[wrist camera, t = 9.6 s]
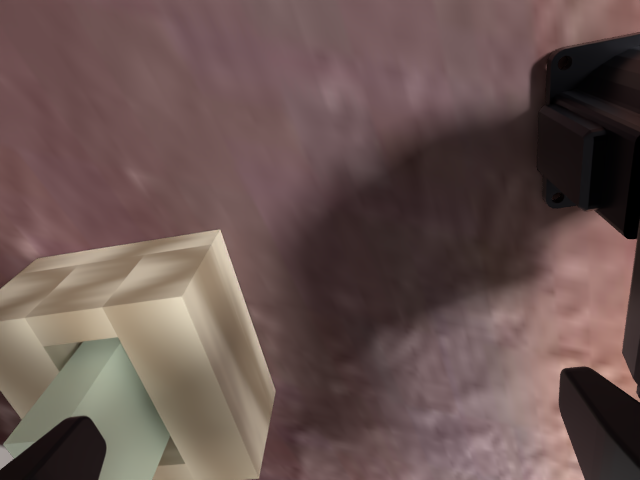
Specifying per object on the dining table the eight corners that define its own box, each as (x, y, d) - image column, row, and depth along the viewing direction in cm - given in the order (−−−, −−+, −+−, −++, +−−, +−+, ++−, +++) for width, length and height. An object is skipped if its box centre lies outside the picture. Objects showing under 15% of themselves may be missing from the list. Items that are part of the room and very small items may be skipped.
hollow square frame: (220, 229, 21) (181, 296, 17) (275, 391, 26) (258, 478, 22) (37, 258, 23) (-47, 327, 18) (122, 406, 28) (75, 491, 23)
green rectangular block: (151, 297, 22) (56, 439, 15) (191, 385, 24) (128, 539, 17) (112, 302, 22) (1, 444, 15) (156, 388, 25) (80, 542, 18)
